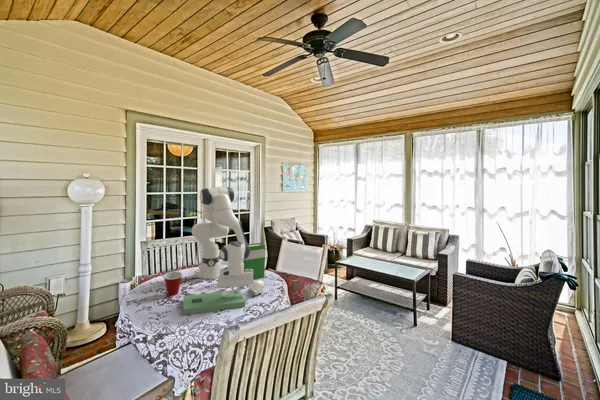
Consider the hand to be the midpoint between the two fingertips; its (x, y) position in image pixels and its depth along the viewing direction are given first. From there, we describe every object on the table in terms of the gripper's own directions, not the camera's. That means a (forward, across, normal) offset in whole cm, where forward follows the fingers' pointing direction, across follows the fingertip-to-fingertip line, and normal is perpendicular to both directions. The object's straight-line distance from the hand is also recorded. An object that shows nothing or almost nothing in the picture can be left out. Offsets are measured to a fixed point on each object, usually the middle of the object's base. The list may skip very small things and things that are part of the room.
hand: (235, 293), depth 167 cm
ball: (0, +6, 0) cm, 6 cm away
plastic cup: (+5, +34, -22) cm, 41 cm away
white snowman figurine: (+5, -14, -9) cm, 17 cm away
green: (+5, +12, 0) cm, 13 cm away
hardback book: (+5, -17, -36) cm, 40 cm away
